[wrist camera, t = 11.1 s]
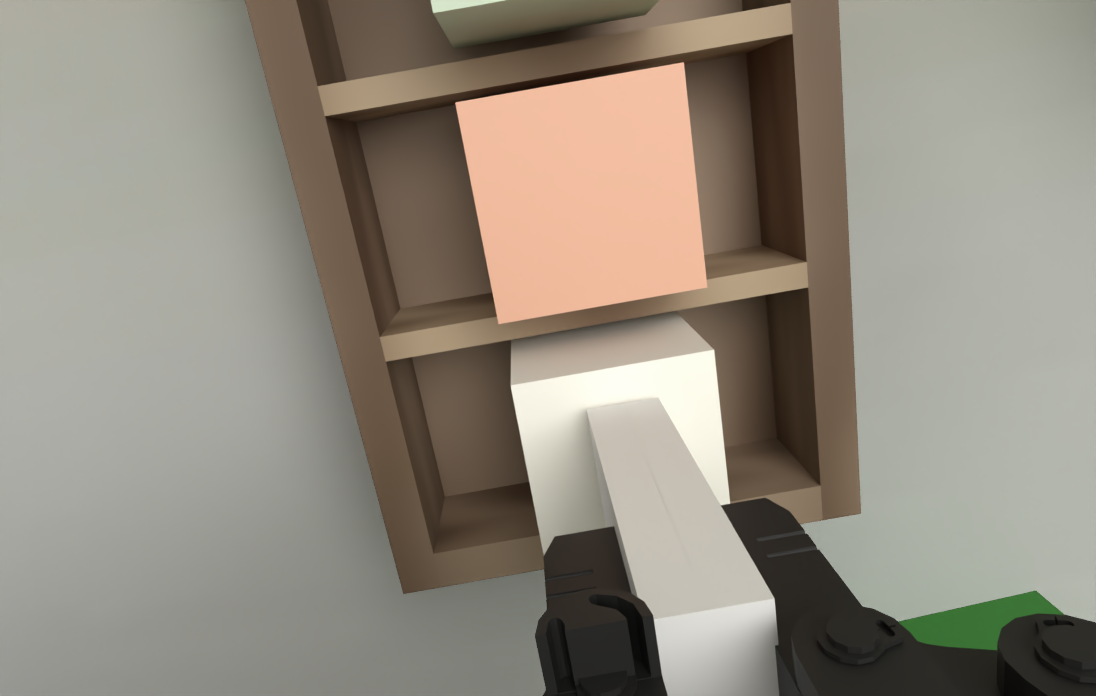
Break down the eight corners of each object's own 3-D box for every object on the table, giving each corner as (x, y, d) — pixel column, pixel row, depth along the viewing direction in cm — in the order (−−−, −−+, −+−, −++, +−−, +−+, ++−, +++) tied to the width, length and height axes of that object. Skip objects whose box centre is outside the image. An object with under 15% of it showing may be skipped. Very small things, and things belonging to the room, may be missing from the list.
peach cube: (501, 285, 17) (499, 324, 14) (469, 114, 16) (455, 102, 12) (664, 257, 17) (706, 287, 14) (643, 83, 16) (683, 62, 12)
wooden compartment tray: (426, 499, 22) (403, 594, 18) (201, -421, 16) (66, -671, 11) (786, 436, 22) (860, 513, 18) (715, -512, 16) (803, -802, 11)
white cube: (538, 479, 19) (545, 562, 15) (510, 334, 18) (510, 385, 14) (688, 452, 19) (733, 530, 15) (670, 307, 18) (714, 349, 14)
